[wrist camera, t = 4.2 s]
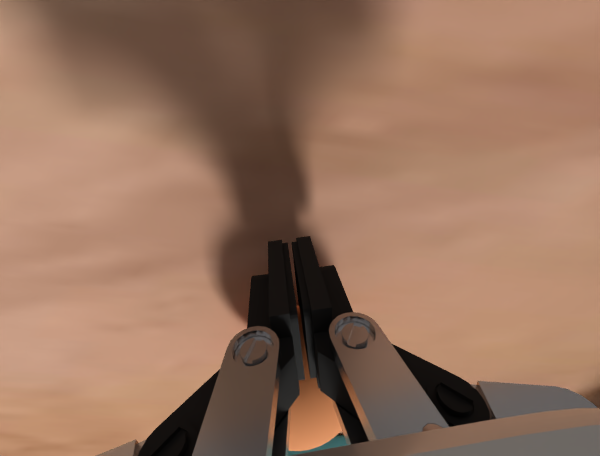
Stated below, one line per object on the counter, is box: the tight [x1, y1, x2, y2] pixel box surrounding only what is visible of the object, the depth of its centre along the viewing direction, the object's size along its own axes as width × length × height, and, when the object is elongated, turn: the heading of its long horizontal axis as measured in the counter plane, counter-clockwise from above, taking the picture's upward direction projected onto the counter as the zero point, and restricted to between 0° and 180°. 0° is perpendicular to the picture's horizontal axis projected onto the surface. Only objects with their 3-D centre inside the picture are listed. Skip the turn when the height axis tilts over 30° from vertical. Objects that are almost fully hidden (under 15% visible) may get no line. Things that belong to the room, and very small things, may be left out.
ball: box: [289, 305, 342, 451], centre depth 12 cm, size 6×6×6 cm
